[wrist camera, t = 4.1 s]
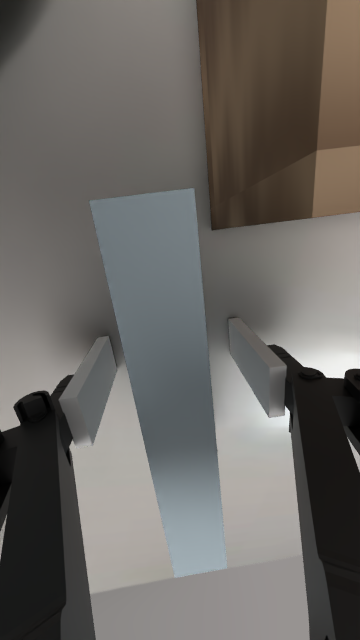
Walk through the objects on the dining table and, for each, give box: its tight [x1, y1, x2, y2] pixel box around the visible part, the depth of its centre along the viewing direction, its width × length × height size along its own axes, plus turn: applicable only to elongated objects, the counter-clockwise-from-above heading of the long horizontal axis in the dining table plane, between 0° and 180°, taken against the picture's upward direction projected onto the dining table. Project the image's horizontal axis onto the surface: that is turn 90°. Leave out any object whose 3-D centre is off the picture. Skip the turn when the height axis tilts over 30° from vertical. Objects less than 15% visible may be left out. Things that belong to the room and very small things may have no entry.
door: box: [89, 188, 227, 578], centre depth 12 cm, size 16×2×9 cm, turn 7°
